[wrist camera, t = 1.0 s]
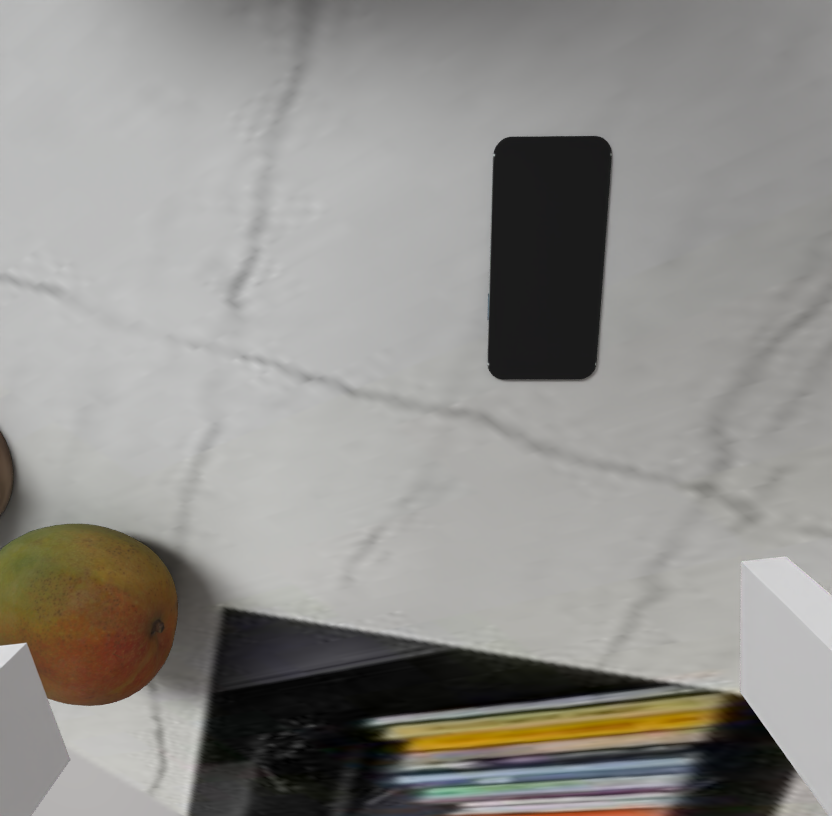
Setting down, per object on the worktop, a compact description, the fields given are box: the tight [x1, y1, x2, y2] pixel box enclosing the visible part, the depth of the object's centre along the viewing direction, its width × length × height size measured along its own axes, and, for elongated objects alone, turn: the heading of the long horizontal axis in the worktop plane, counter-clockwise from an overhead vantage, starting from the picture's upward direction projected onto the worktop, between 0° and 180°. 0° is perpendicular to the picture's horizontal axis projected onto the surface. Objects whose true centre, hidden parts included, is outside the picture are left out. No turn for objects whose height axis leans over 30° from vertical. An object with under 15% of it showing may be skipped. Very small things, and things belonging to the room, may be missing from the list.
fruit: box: [0, 524, 178, 706], centre depth 38 cm, size 12×12×10 cm
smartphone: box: [487, 136, 612, 379], centre depth 37 cm, size 7×1×15 cm
